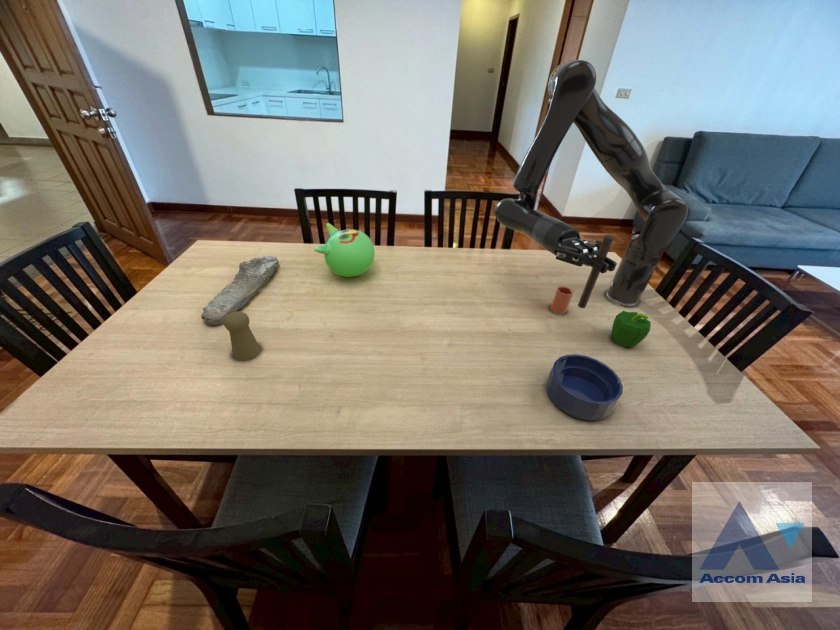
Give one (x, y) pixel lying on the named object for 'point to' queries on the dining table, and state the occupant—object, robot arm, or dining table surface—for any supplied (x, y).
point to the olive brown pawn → (241, 336)
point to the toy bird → (347, 251)
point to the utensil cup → (561, 299)
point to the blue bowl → (584, 387)
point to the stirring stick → (595, 271)
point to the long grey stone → (240, 289)
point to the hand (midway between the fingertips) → (610, 268)
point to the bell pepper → (630, 328)
